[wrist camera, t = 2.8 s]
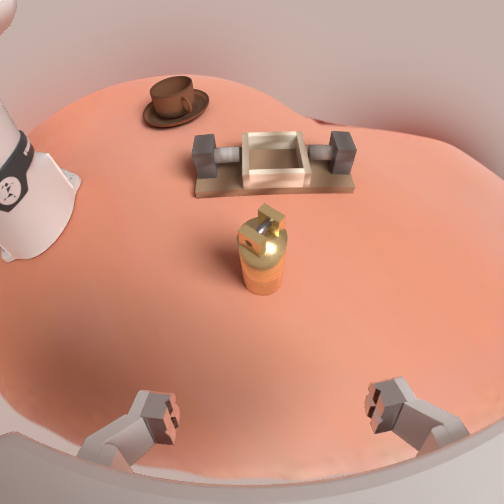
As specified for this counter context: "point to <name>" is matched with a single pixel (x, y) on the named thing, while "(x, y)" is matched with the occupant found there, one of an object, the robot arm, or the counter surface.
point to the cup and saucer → (174, 102)
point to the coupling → (263, 251)
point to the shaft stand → (273, 165)
